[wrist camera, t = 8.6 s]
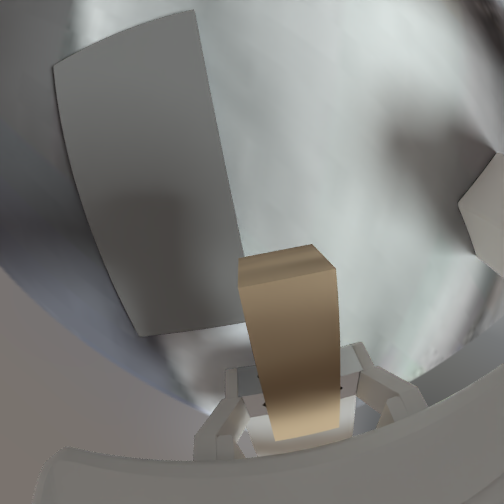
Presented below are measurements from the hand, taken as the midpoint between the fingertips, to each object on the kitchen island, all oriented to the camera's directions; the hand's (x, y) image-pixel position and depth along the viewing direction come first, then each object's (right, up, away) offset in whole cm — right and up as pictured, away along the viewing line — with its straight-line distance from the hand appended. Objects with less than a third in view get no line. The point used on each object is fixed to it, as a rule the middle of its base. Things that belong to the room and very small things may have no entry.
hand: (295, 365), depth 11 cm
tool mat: (-8, +9, +4) cm, 12 cm away
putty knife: (0, -2, +2) cm, 2 cm away
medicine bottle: (+19, +9, +6) cm, 22 cm away
